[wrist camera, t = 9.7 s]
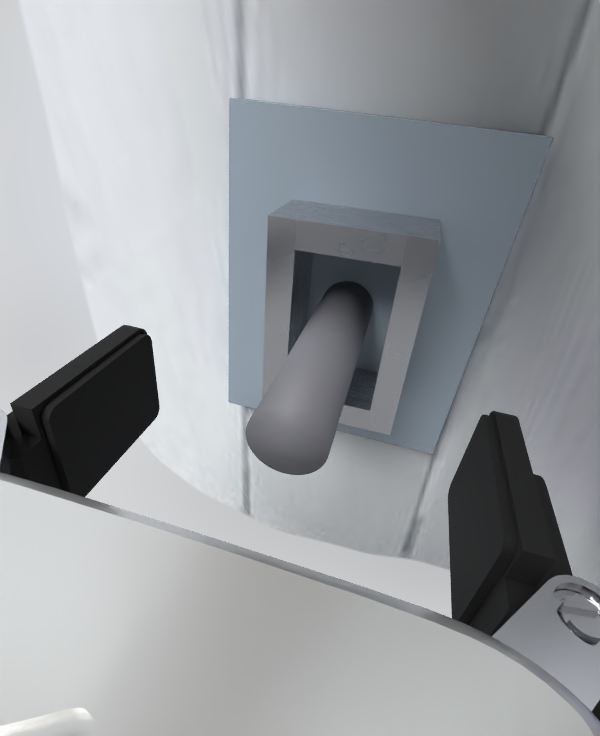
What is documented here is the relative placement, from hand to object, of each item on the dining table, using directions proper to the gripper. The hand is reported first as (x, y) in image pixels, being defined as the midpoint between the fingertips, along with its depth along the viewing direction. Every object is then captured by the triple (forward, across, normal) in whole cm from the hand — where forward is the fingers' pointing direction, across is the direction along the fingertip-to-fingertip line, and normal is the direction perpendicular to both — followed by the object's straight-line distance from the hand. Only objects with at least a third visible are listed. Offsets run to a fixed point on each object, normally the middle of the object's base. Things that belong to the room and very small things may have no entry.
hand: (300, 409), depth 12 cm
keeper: (+9, 0, 0) cm, 9 cm away
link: (+8, 0, 0) cm, 8 cm away
